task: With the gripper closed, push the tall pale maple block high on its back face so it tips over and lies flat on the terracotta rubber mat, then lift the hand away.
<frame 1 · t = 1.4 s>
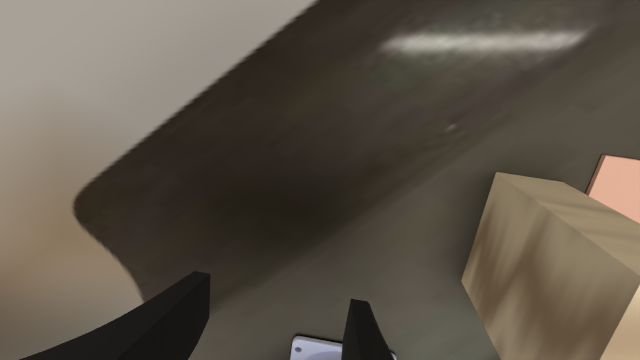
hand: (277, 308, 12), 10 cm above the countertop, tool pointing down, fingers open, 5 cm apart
maple block: (508, 234, 22), on the countertop
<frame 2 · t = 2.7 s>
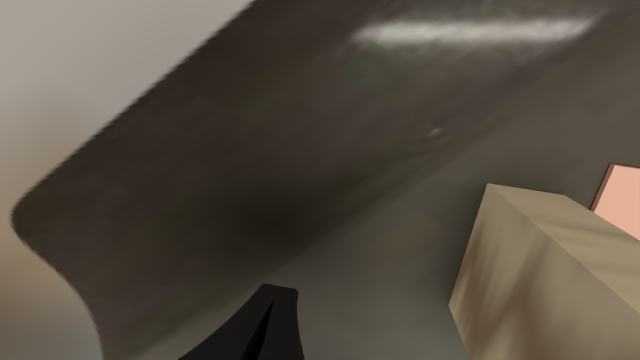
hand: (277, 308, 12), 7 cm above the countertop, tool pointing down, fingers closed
maple block: (502, 254, 19), on the countertop
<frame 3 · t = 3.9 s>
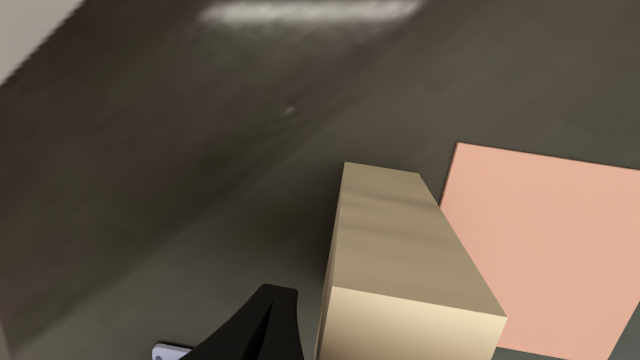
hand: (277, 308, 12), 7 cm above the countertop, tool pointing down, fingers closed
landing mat: (534, 261, 19), on the countertop
maple block: (367, 232, 19), on the countertop, touching gripper
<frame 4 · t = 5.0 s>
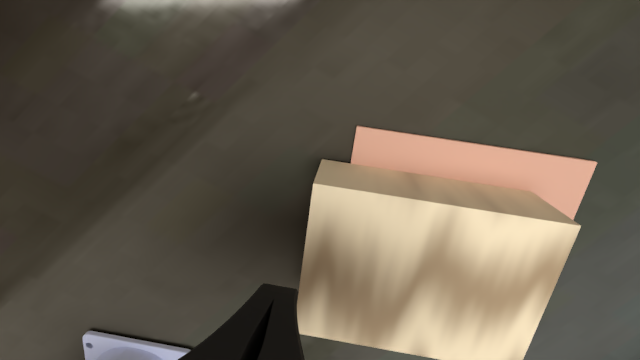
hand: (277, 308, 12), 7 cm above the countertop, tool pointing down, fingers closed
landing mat: (443, 244, 19), on the countertop
maple block: (308, 242, 17), point 2 cm above the countertop, tilted 90°, touching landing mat
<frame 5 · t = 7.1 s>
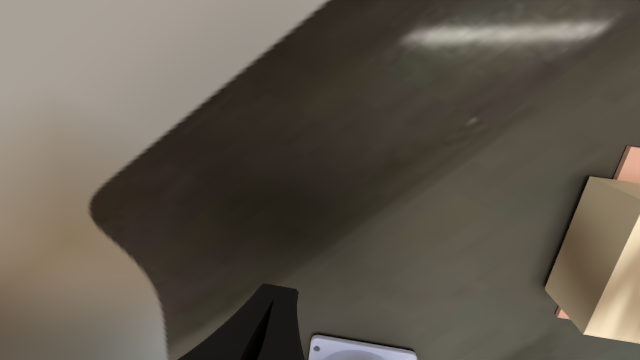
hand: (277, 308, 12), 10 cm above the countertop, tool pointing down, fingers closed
maple block: (586, 252, 19), point 2 cm above the countertop, tilted 90°, touching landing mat
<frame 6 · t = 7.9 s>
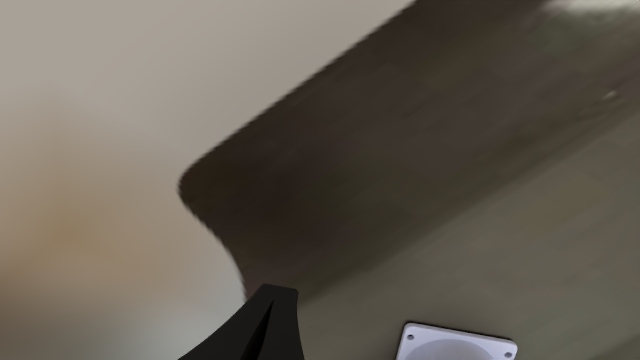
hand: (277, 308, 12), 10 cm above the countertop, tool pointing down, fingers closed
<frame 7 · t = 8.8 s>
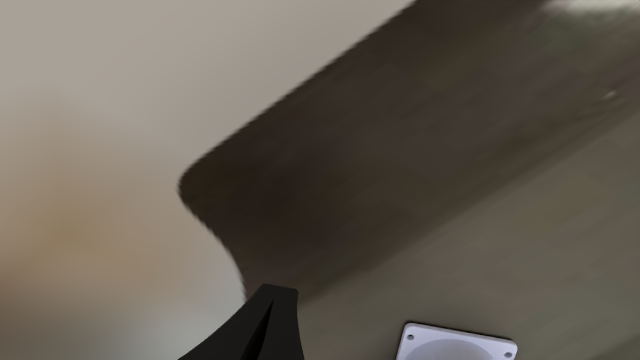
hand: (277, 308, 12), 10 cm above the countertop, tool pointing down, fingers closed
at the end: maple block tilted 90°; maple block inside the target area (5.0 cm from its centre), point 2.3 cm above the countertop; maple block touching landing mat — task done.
